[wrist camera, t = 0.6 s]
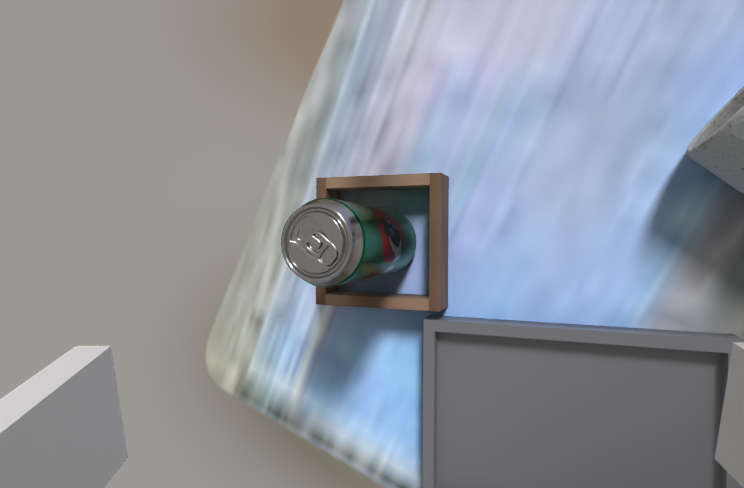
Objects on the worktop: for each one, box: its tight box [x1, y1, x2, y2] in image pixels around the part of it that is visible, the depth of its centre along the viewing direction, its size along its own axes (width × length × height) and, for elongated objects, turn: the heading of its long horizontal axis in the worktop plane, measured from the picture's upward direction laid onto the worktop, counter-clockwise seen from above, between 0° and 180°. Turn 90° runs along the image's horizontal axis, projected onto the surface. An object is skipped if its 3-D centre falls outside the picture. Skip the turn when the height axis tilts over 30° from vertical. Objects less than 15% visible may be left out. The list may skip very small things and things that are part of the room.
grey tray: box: [422, 315, 744, 488], centre depth 32 cm, size 19×13×2 cm
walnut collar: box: [316, 173, 449, 312], centre depth 37 cm, size 10×10×2 cm
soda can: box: [281, 198, 416, 287], centre depth 32 cm, size 5×5×12 cm
